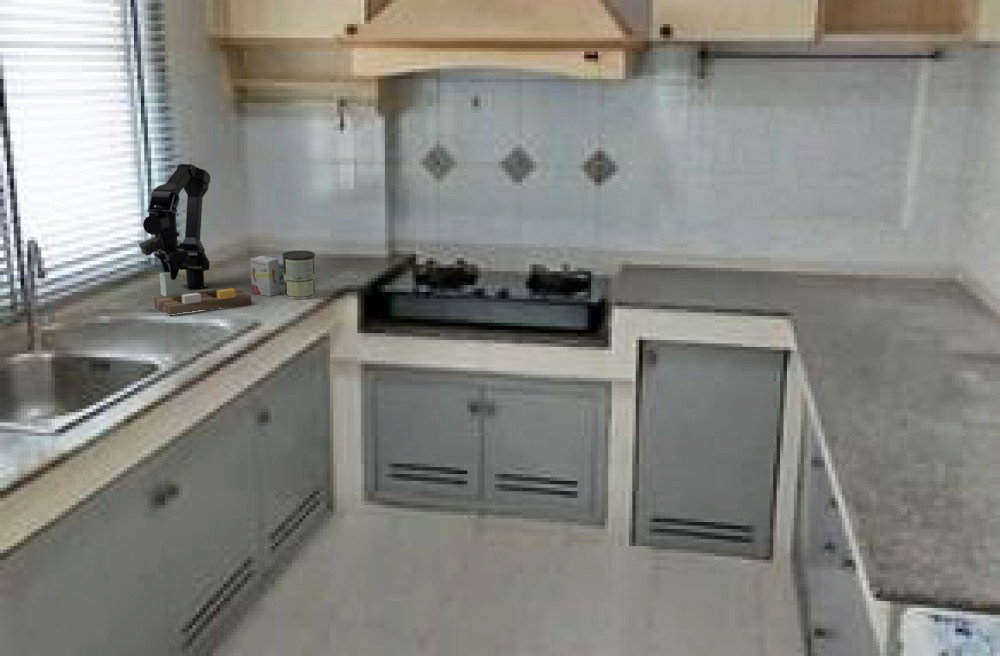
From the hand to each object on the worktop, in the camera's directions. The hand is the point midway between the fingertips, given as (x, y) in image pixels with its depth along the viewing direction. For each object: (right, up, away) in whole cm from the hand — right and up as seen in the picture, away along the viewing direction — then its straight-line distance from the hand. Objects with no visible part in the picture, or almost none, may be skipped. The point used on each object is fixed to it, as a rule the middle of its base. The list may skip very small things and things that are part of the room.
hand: (170, 278), depth 311 cm
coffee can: (+38, -5, +13) cm, 41 cm away
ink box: (+27, -4, +15) cm, 31 cm away
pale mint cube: (0, -5, +1) cm, 6 cm away
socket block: (+11, -9, -3) cm, 15 cm away
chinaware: (+25, 0, +31) cm, 40 cm away
